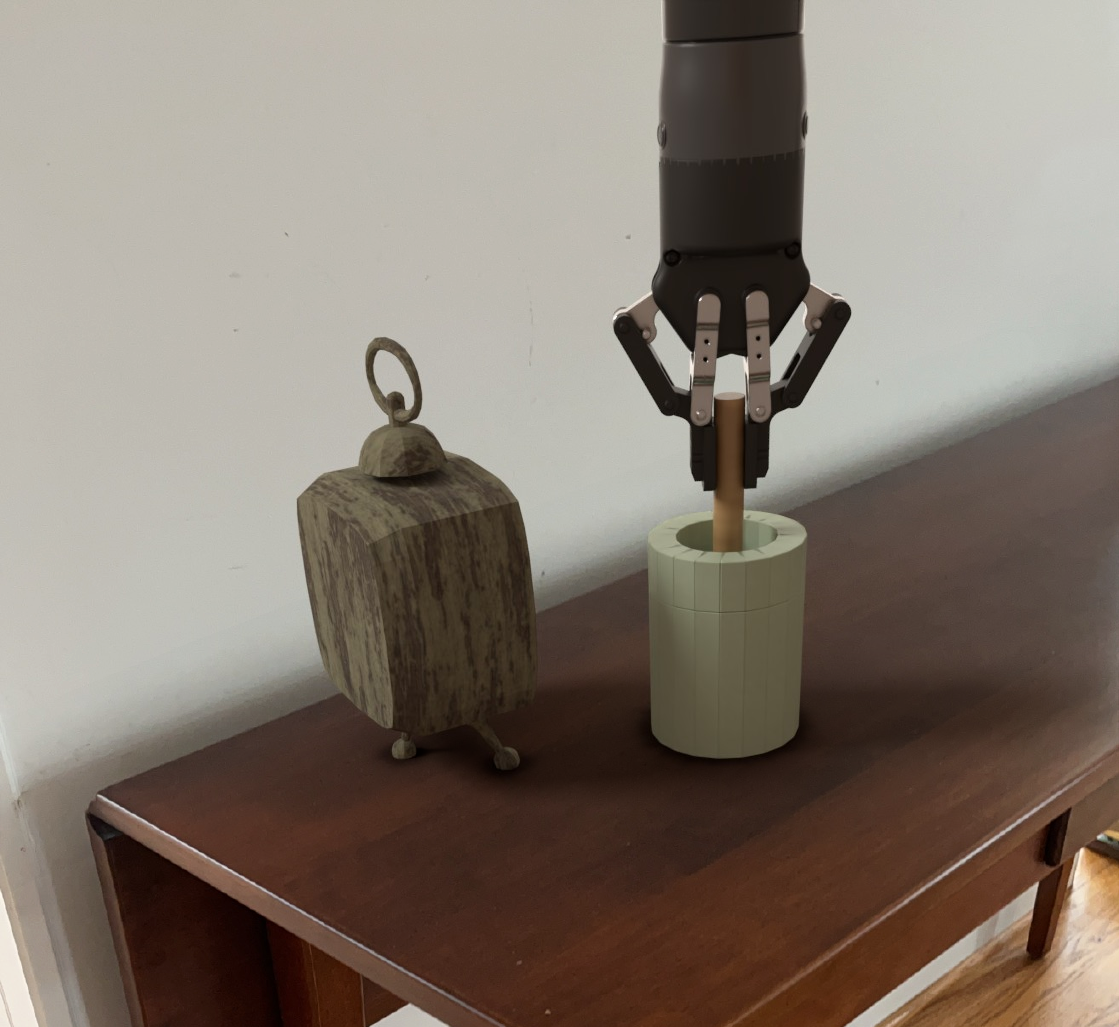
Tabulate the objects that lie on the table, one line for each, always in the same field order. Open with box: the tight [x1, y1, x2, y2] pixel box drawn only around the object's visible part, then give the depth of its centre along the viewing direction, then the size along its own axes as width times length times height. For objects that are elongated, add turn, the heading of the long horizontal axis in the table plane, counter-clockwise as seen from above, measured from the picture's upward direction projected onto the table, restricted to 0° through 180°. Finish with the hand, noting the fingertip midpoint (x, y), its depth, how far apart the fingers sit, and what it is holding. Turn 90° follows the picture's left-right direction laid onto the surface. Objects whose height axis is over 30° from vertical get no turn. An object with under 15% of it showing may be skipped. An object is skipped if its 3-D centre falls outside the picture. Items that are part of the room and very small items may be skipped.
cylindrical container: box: [647, 509, 808, 760], centre depth 89 cm, size 9×9×13 cm
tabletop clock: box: [296, 336, 538, 771], centre depth 85 cm, size 14×9×25 cm, turn 30°
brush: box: [712, 391, 746, 553], centre depth 85 cm, size 3×3×17 cm
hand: (728, 485), depth 83 cm, fingers closed on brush, 2 cm apart
